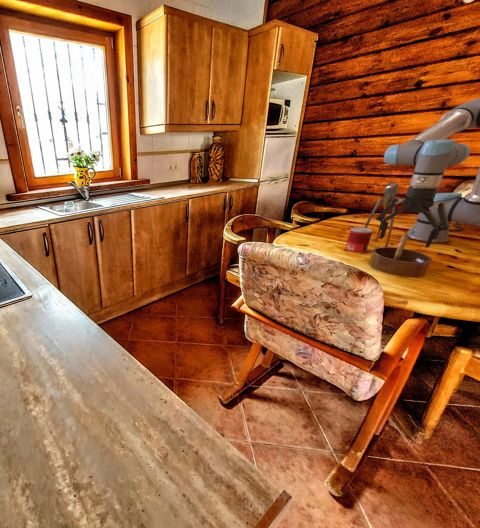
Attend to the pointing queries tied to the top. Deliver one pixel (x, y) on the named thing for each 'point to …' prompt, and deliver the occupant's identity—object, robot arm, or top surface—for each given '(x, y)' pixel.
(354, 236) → the canned food
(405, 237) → the wooden spoon
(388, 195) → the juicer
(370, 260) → the bowl
